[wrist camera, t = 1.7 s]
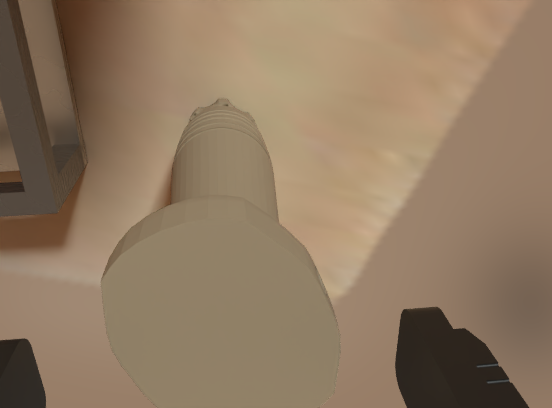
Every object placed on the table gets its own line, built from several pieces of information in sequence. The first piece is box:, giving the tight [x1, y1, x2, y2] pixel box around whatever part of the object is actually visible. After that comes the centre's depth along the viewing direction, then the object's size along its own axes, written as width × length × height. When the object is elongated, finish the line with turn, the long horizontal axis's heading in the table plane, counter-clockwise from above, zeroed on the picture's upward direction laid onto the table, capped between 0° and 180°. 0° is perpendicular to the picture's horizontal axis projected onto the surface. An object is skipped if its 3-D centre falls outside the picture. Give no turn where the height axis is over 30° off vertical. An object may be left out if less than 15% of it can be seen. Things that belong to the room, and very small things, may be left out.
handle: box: [101, 99, 340, 408], centre depth 18 cm, size 5×6×15 cm
